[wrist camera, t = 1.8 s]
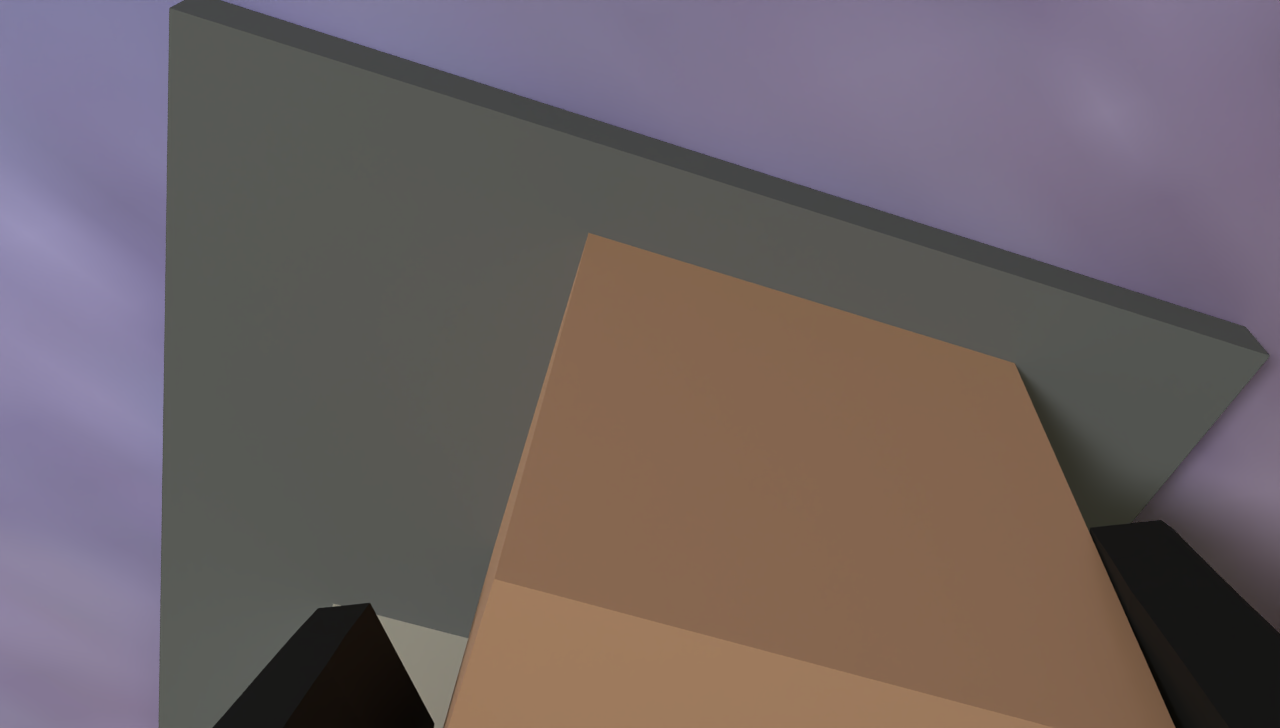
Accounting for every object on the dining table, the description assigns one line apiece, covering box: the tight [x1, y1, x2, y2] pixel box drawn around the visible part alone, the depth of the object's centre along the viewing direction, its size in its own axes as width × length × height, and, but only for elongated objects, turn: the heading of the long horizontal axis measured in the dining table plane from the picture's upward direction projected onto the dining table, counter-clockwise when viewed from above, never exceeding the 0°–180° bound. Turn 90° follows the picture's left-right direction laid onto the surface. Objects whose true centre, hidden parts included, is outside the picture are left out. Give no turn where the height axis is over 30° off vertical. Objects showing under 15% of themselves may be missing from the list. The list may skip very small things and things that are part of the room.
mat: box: [159, 0, 1270, 728], centre depth 15 cm, size 12×18×1 cm, turn 163°
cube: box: [443, 233, 1175, 728], centre depth 10 cm, size 5×5×5 cm
